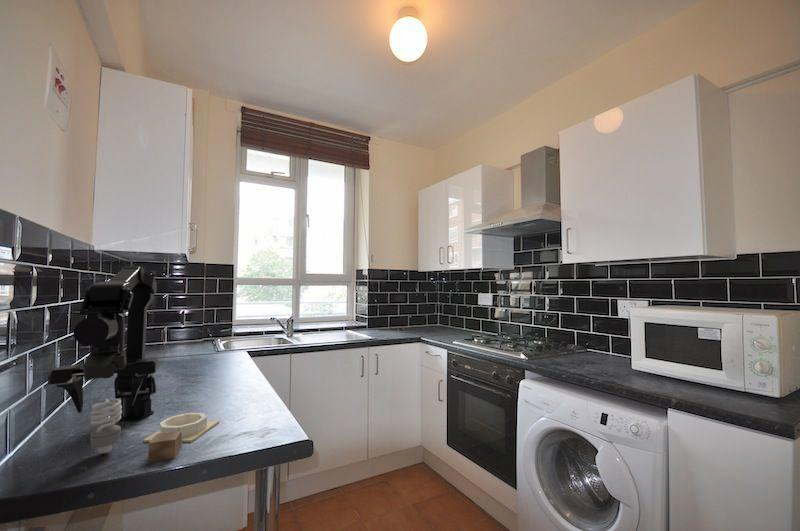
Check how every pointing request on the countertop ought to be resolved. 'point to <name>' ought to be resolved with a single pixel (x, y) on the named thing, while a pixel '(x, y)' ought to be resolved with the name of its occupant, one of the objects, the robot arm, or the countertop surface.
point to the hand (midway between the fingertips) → (106, 408)
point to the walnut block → (165, 446)
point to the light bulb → (105, 425)
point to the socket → (185, 426)
